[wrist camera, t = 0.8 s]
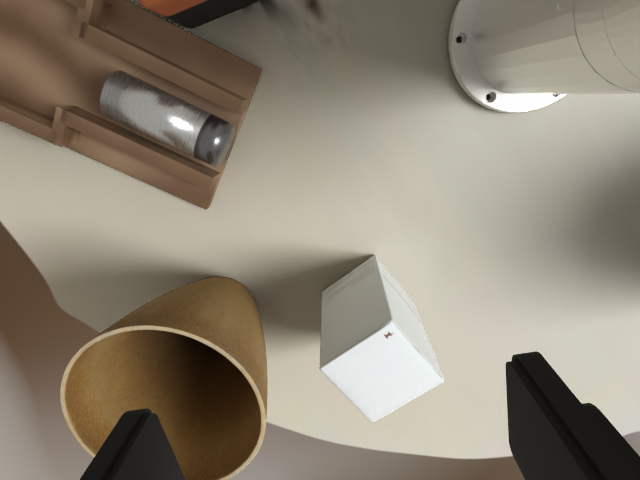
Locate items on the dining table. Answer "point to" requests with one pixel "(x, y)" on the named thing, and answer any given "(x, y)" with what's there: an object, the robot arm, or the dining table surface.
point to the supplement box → (375, 341)
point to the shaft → (166, 118)
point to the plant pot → (179, 377)
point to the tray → (93, 71)
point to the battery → (194, 9)
